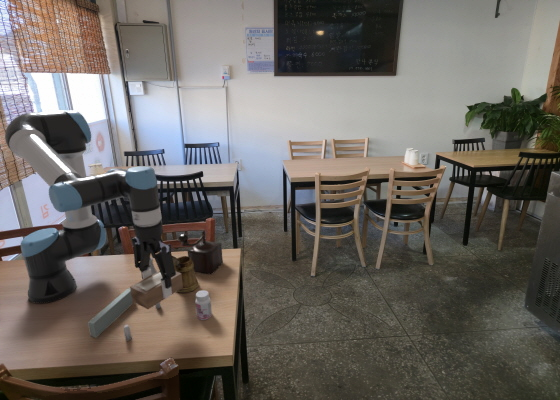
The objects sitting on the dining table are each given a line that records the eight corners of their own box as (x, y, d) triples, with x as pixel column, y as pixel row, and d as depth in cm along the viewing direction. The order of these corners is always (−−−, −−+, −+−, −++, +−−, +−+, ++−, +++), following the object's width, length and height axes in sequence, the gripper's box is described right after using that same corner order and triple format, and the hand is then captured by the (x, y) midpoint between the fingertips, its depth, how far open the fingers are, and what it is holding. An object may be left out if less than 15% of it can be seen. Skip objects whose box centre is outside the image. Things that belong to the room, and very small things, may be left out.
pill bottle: (195, 320, 112) (192, 297, 110) (199, 311, 117) (196, 289, 114) (209, 320, 112) (207, 298, 109) (213, 311, 117) (211, 289, 114)
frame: (132, 301, 102) (129, 286, 100) (167, 281, 112) (165, 266, 111) (148, 309, 99) (145, 293, 97) (183, 287, 109) (181, 272, 107)
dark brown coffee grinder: (200, 259, 152) (196, 220, 146) (223, 262, 148) (220, 223, 143) (180, 277, 138) (175, 235, 132) (205, 281, 134) (201, 238, 129)
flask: (165, 278, 138) (161, 255, 134) (157, 288, 131) (153, 264, 128) (147, 277, 138) (143, 254, 135) (138, 287, 132) (134, 264, 128)
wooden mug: (160, 297, 125) (153, 252, 119) (183, 278, 137) (178, 236, 131) (182, 302, 122) (175, 255, 116) (203, 282, 134) (198, 239, 128)
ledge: (91, 336, 106) (87, 322, 105) (130, 300, 124) (128, 288, 122) (127, 342, 103) (125, 328, 102) (162, 304, 121) (160, 292, 119)
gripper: (112, 220, 100) (125, 290, 107) (162, 233, 90) (173, 309, 98) (134, 212, 106) (145, 278, 113) (183, 223, 96) (192, 295, 104)
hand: (158, 292), depth 105 cm, fingers closed on frame, 7 cm apart
